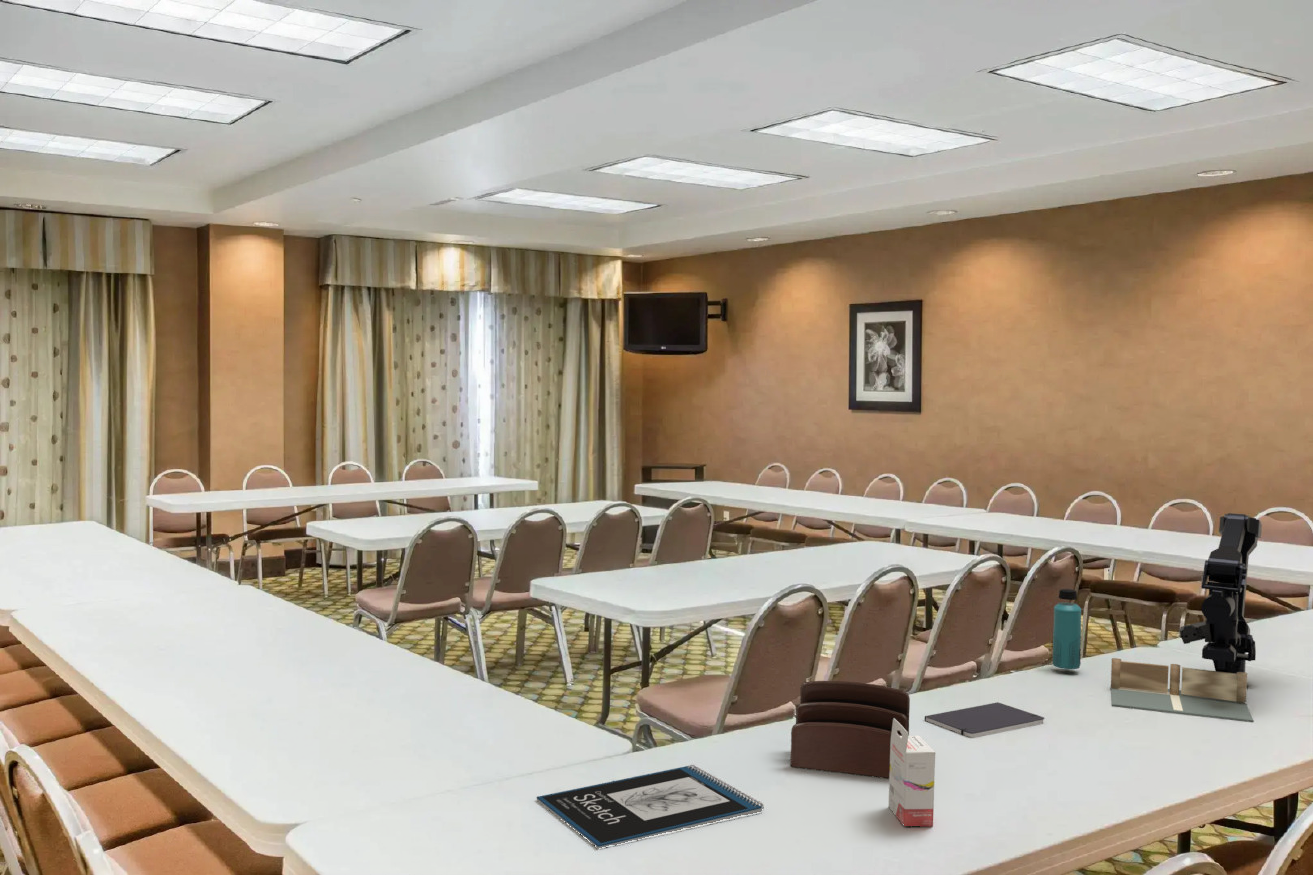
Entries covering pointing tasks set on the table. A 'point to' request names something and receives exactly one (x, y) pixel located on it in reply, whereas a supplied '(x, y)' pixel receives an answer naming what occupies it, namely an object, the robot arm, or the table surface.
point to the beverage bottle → (1067, 632)
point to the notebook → (985, 719)
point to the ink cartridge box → (911, 778)
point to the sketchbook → (648, 805)
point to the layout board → (1180, 704)
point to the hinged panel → (1214, 684)
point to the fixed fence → (1145, 676)
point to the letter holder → (847, 727)
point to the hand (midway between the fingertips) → (1220, 683)
